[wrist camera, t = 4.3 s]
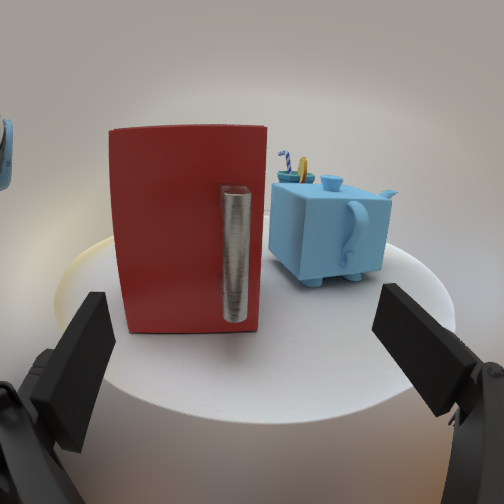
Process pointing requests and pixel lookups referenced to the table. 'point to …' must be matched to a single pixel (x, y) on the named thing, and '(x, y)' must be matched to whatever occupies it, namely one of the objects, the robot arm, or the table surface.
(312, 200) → the teapot
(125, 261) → the cabinet door
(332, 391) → the table surface
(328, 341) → the table surface
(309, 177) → the cup
